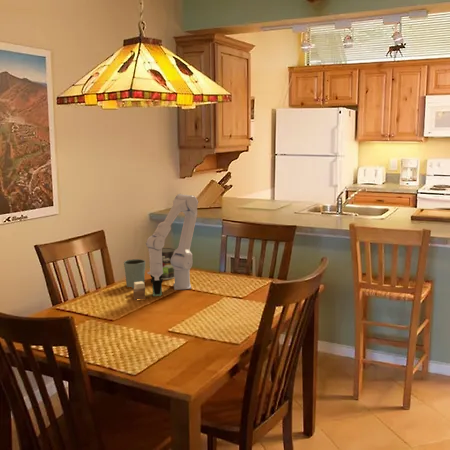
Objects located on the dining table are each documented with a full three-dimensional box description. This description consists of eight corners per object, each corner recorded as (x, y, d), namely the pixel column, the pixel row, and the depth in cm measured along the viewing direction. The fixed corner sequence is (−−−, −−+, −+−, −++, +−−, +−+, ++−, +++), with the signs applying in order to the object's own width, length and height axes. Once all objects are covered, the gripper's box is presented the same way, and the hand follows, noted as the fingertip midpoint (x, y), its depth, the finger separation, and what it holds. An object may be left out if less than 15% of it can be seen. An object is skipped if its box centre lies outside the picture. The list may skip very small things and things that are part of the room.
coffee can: (173, 280, 273) (172, 252, 271) (153, 279, 275) (152, 252, 273) (178, 274, 283) (177, 247, 281) (159, 274, 285) (158, 247, 283)
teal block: (152, 293, 252) (152, 283, 251) (161, 293, 253) (161, 282, 252) (153, 296, 248) (152, 285, 247) (161, 295, 249) (161, 285, 248)
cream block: (134, 292, 254) (133, 282, 253) (142, 291, 256) (142, 281, 255) (136, 295, 251) (136, 284, 250) (145, 293, 252) (144, 283, 251)
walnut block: (133, 297, 247) (133, 288, 247) (145, 296, 248) (144, 288, 247) (133, 300, 243) (133, 292, 242) (145, 300, 243) (144, 291, 243)
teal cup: (121, 288, 262) (120, 263, 260) (130, 282, 272) (128, 258, 269) (141, 289, 260) (140, 264, 257) (149, 283, 269) (148, 259, 267)
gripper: (146, 259, 254) (148, 287, 257) (147, 267, 240) (148, 296, 242) (162, 258, 255) (163, 286, 258) (163, 266, 241) (164, 295, 243)
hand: (157, 291), depth 250 cm, fingers open, 7 cm apart
